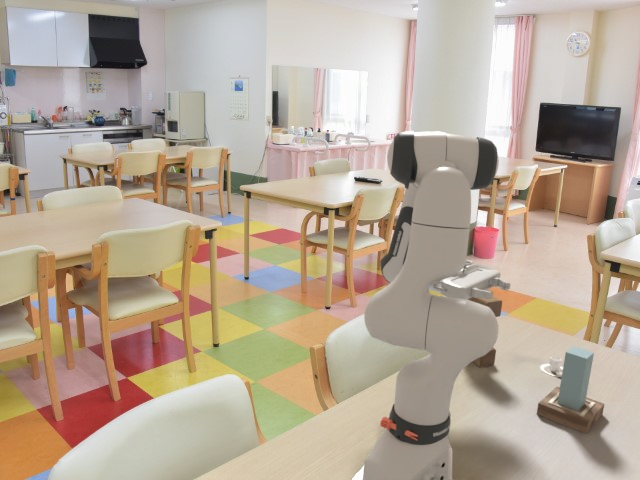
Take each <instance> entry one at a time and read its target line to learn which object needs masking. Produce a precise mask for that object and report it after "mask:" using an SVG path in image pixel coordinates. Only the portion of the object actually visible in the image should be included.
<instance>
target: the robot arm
mask: <svg viewBox="0 0 640 480" xmlns="http://www.w3.org/2000/svg"><path fill="white" fill-rule="evenodd" d="M386 161H387V166H388V167H387V168H388V169H389V174H390V175H391V177H393V179H394V180H395V181H396V182H399V183H400V184H403V185H404V188H405V190H404V194H403V199H402V203H401V206H400V209H399V214H398V217H397V220H396V224H395V226H394V230H393V234H392V238H391V242H390V245H389V248H388V252H387V253H386V254H385V255H384V256H383V257H382V258H381V260H380V261H379V264H380V265H379V266H380V271H381V274H382V277H383V278H384V279H385V281H386V282H387V283H388V284H387V285H386V286H385V287H383V288H382V289H380V290H378V291H376V292H375V293H374V294H372V296H371V297H370V298H369V300H368V301H367V304H366V306H365V308H364V309H365V310H364V317H363V318H364V324H365V327H366V331H367V332H368V333H369V335H370V337H372V338H374V339H376V340H378V341H381V342H383V343H386V344H388V345H389V344H390V345H391V346H397V347H403V348H409V349H415V350H421V351H426V352H428V353H429V354H428V355H427V356H425V357H423V358H419V359H415V360H412V361H410V362H408V363H406V364H405V365H403V367H401V368H400V370H398V373H397V375H396V379H395V380H396V381H395V393H394V403H393V404H392V406H391V410H390V411H389V417H386V416H384V417H382V418H381V420H380V424H379V425H380V427H382V428H384V430H383V432H382V433H381V435H380V436H379V437H378V439H377V441H376V442H375V444H374V445H373V447H372V448H371V449H370V451H369V453H368V454H367V456H366V459H365V462H364V464H363V466H362V467H361V468H360V469H359V470H358V472H357V473H356V474H355V475H354V476H353V477H352V479H351V480H454V479H453V448H452V446H451V442H450V439H449V433H450V427H451V422H452V421H451V420H452V419H451V412H450V407H451V399H452V396H453V395H452V394H453V390H454V386H455V382H456V380H457V378H458V376H459V375H460V373H462V371H463V370H464V369H465V368H466V367H467V366H468V365H470V364H471V363H473V362H472V361H474V360H475V359H477V358H479V357H482V356H484V355H486V354H487V353H488V352H489V351H490V350H491V349H492V348H494V346H495V344H496V343H497V340H498V337H499V324H498V319H497V317H496V316H495V315H494V313H493V311H492V310H491V309H490V308H489V307H487V306H484V305H482V304H479V303H476V302H473V301H470V300H468V299H470V298H472V297H474V298H485V299H488V300H489V299H491V298H492V297H494V292H493V291H492V290H490V289H493V288H494V287H495V288H497V287H498V288H500V290H503V291H508V290H510V289H511V283H510V282H509V281H505V280H504V279H502V278H501V272H500V271H499V270H497V269H495V268H492V267H489V266H485V265H482V264H477V263H476V264H475V263H474V261H473V260H470V259H469V260H468V259H467V255H468V248H469V247H468V246H469V238H470V231H471V230H470V228H471V220H472V219H471V218H472V217H471V216H472V193H471V192H472V190H482V189H486V188H488V187H489V186H490V185H491V184H492V183H493V181H494V179H495V177H496V175H497V172H498V170H499V165H500V161H499V155H498V148H497V146H496V144H494V142H493V141H492V140H489V139H487V138H484V137H480V136H477V137H472V136H467V135H461V134H454V133H448V132H445V131H417V132H416V131H415V132H414V130H407V131H402V132H398V133H397V134H396V135H395V136H394V137H393V140H392V141H391V143H390V145H389V147H388V151H387V160H386ZM430 288H431V289H432V290H434V291H437V292H440V294H441V295H436V294H433V293H430Z"/></svg>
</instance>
